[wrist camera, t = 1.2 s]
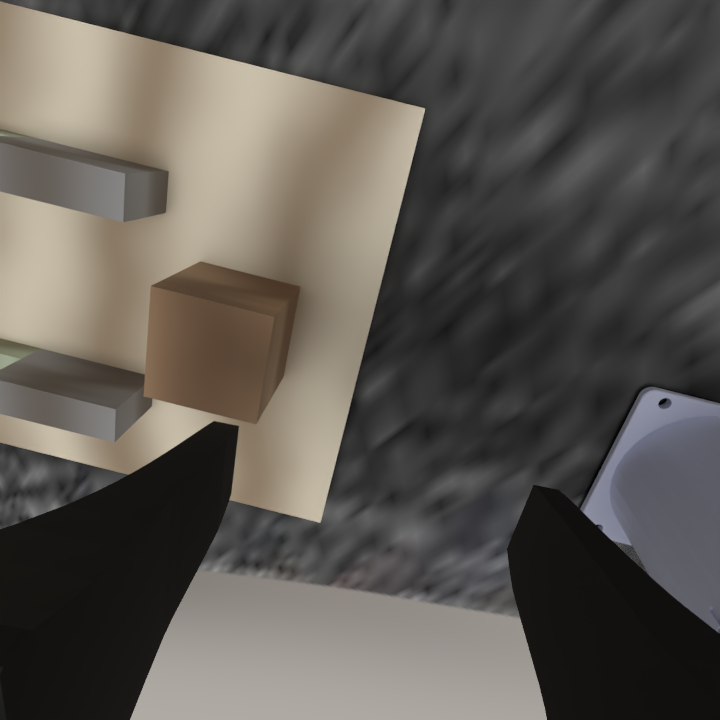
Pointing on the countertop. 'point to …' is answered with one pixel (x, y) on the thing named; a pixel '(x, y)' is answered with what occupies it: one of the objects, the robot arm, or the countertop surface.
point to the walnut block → (218, 340)
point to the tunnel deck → (182, 240)
